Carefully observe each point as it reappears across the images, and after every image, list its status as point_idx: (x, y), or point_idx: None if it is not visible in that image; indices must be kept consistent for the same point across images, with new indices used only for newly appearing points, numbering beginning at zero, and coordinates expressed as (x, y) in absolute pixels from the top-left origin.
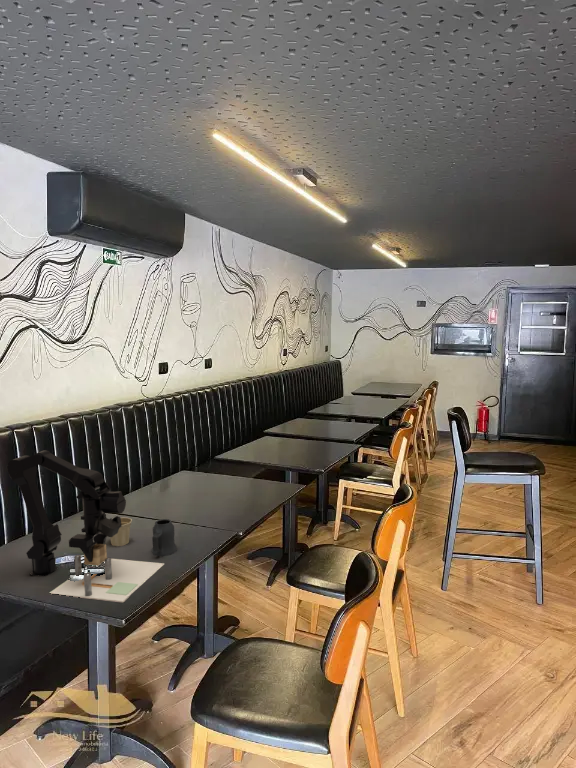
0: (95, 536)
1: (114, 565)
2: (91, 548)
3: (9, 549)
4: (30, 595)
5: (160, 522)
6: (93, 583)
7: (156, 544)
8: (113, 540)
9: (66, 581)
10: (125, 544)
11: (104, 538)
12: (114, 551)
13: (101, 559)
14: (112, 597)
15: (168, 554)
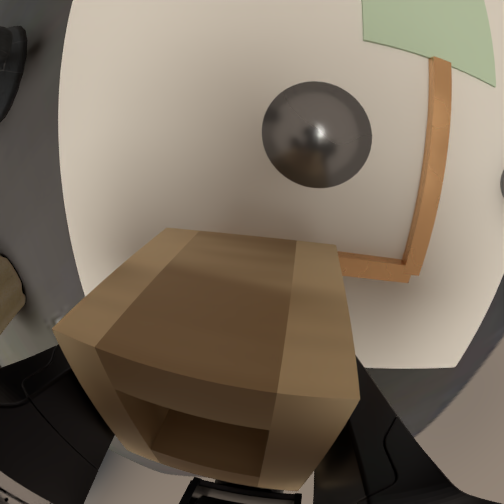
0: (70, 485)
1: (121, 200)
2: (431, 488)
3: (169, 472)
4: (439, 403)
5: None
6: (425, 202)
7: None
8: (10, 305)
9: None
10: (3, 258)
11: (5, 407)
12: (37, 276)
13: (261, 255)
14: None
15: (17, 30)
